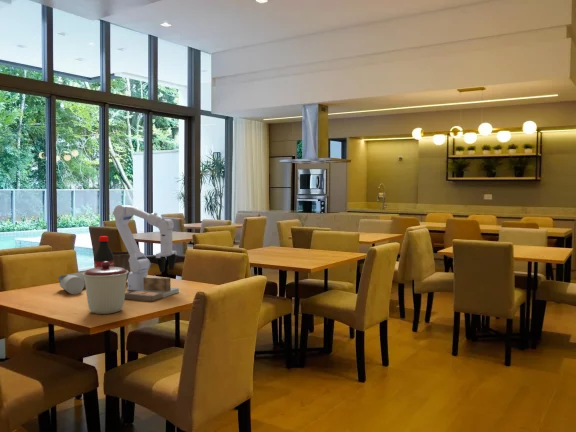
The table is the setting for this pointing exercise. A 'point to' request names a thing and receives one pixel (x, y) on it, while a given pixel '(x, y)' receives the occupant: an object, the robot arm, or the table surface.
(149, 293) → the tile right
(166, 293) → the slate board
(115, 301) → the canister
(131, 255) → the robot arm
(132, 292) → the tile left
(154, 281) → the brown wooden block
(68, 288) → the bent grey cylinder
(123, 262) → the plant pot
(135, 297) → the tray
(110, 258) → the cola bottle
